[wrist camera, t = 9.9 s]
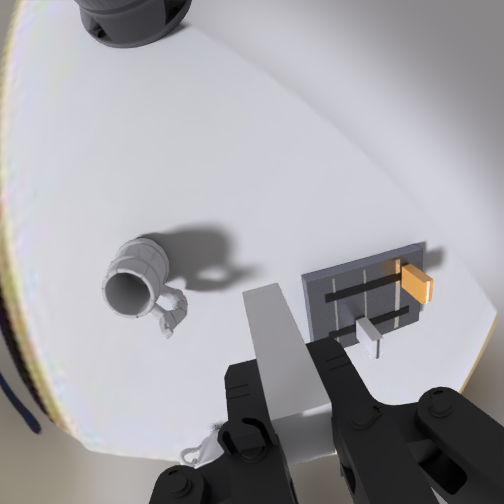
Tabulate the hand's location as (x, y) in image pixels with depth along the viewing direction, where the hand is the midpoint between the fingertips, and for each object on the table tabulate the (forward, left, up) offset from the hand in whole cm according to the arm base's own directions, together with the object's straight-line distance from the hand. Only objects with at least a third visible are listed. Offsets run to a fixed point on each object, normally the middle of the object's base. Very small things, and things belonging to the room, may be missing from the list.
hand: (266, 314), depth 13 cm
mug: (+7, -12, -29) cm, 32 cm away
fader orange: (+17, +24, -26) cm, 39 cm away
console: (+20, +18, -29) cm, 39 cm away
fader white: (+24, +16, -26) cm, 39 cm away
